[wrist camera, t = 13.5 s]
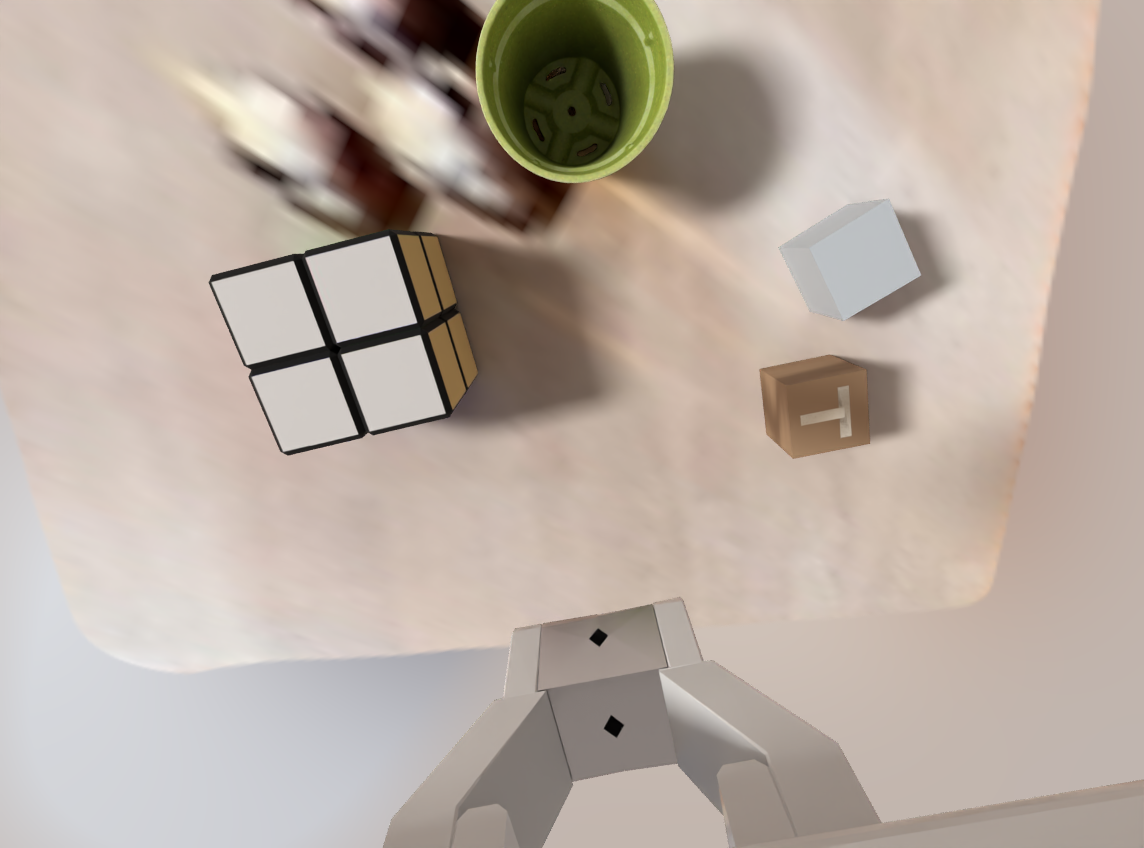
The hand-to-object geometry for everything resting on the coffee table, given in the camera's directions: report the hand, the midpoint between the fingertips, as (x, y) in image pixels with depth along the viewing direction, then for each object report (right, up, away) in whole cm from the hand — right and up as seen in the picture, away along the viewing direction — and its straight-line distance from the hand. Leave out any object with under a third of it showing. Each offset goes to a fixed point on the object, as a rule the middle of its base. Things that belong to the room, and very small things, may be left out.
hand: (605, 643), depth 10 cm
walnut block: (+16, +4, +26) cm, 31 cm away
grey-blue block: (+17, +15, +28) cm, 36 cm away
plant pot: (-1, +23, +25) cm, 34 cm away
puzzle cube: (-13, +11, +29) cm, 34 cm away
